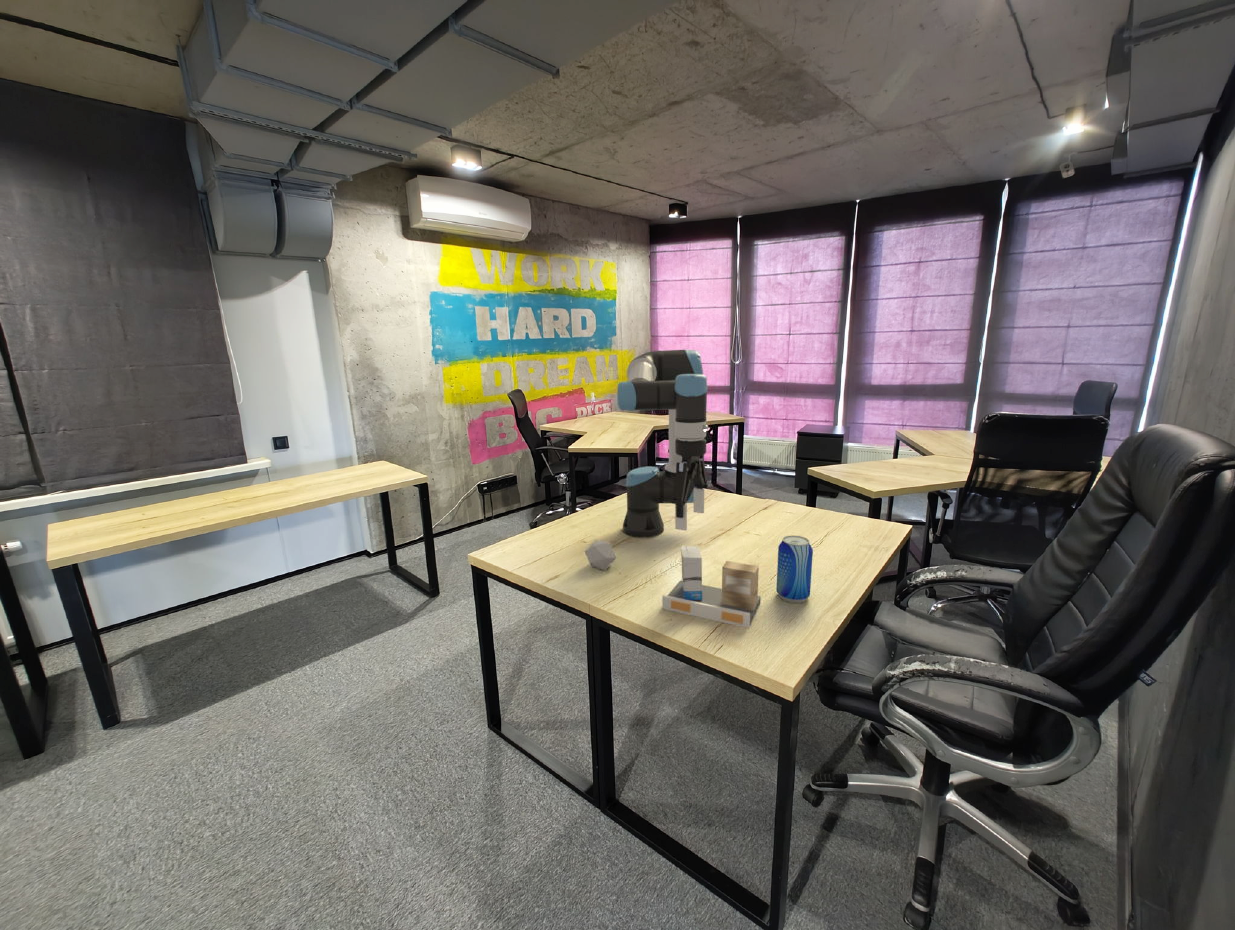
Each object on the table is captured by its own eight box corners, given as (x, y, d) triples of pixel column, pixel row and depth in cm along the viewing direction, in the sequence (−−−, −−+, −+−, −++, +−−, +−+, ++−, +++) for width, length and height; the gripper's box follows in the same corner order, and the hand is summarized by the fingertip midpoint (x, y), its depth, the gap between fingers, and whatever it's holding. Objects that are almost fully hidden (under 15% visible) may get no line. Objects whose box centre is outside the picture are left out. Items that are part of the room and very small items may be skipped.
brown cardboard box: (721, 604, 124) (722, 567, 122) (725, 596, 128) (726, 560, 125) (753, 610, 120) (755, 572, 118) (757, 603, 124) (758, 566, 122)
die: (621, 567, 153) (613, 537, 157) (612, 564, 145) (604, 532, 149) (596, 575, 155) (589, 545, 159) (586, 573, 147) (578, 541, 150)
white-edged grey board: (662, 609, 126) (661, 596, 126) (680, 587, 138) (680, 575, 137) (748, 628, 117) (749, 615, 116) (760, 603, 128) (760, 590, 127)
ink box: (702, 601, 126) (702, 558, 123) (682, 600, 126) (682, 558, 124) (699, 585, 134) (700, 545, 132) (680, 585, 135) (680, 545, 132)
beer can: (771, 590, 135) (773, 535, 131) (801, 588, 135) (804, 533, 132) (783, 605, 126) (786, 547, 123) (815, 603, 127) (819, 545, 124)
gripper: (688, 448, 108) (687, 539, 113) (720, 430, 130) (718, 507, 135) (656, 446, 112) (657, 534, 117) (692, 429, 133) (692, 504, 138)
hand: (690, 520), depth 126 cm, fingers open, 13 cm apart
